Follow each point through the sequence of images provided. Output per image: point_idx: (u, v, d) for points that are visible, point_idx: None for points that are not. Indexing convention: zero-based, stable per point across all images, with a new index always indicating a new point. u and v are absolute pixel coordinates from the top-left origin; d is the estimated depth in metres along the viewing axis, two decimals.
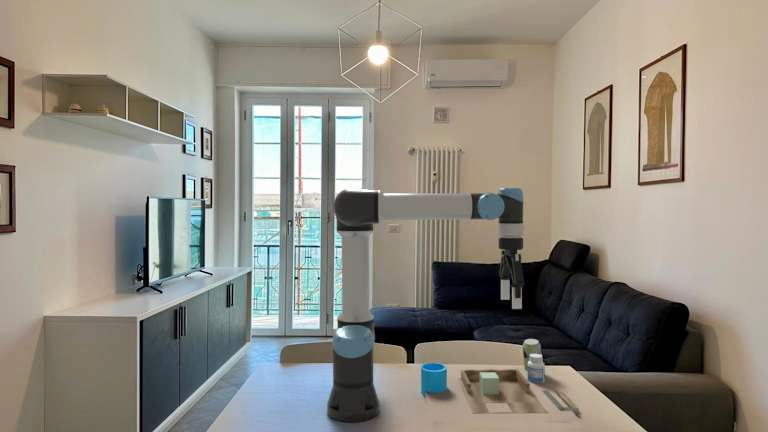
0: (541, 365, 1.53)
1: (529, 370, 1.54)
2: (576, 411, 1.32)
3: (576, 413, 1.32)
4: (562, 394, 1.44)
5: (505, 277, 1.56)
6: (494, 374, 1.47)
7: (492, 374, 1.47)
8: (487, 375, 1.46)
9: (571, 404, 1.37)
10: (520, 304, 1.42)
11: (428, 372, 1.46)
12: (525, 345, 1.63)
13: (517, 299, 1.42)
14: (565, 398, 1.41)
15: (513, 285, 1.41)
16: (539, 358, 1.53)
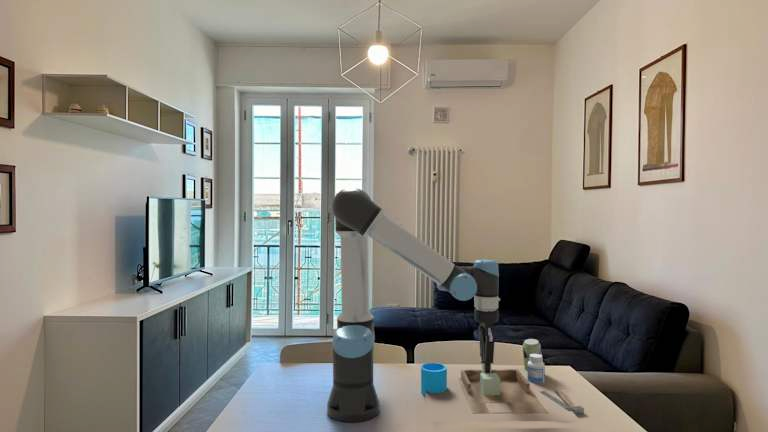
0: (541, 365, 1.53)
1: (529, 370, 1.54)
2: (582, 410, 1.33)
3: (582, 412, 1.33)
4: (561, 393, 1.45)
5: None
6: (495, 375, 1.46)
7: (492, 375, 1.46)
8: (488, 375, 1.45)
9: (569, 403, 1.37)
10: None
11: (428, 372, 1.46)
12: (525, 345, 1.63)
13: None
14: (564, 397, 1.42)
15: (483, 362, 1.48)
16: (539, 358, 1.53)
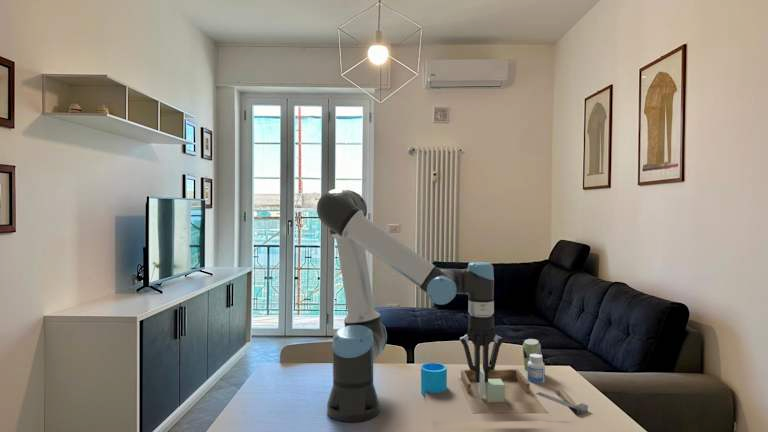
0: (541, 365, 1.53)
1: (529, 370, 1.54)
2: (586, 407, 1.35)
3: (586, 409, 1.35)
4: (563, 392, 1.45)
5: None
6: (499, 381, 1.41)
7: (497, 381, 1.41)
8: (492, 381, 1.41)
9: (571, 402, 1.38)
10: (479, 389, 1.40)
11: (428, 372, 1.46)
12: (525, 345, 1.63)
13: (479, 383, 1.41)
14: (565, 396, 1.42)
15: None
16: (539, 358, 1.53)
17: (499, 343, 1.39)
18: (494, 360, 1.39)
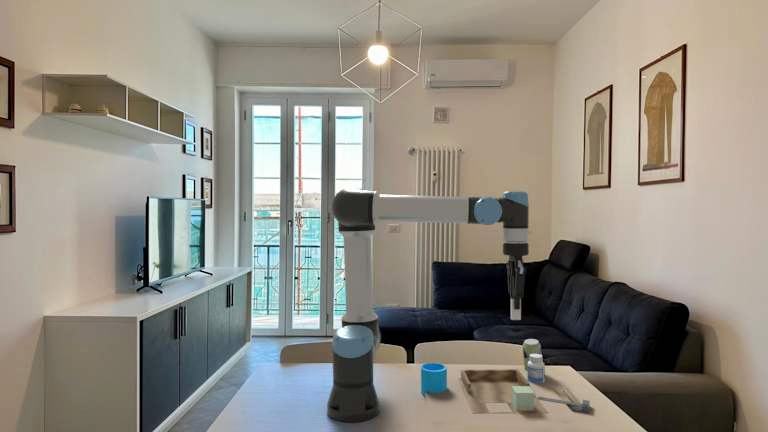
0: (541, 365, 1.53)
1: (529, 370, 1.54)
2: (589, 402, 1.38)
3: (589, 404, 1.38)
4: (567, 391, 1.47)
5: None
6: (528, 388, 1.35)
7: (525, 388, 1.35)
8: (521, 389, 1.35)
9: (575, 400, 1.39)
10: (519, 315, 1.43)
11: (428, 372, 1.46)
12: (525, 345, 1.63)
13: (516, 310, 1.43)
14: (570, 394, 1.44)
15: (512, 298, 1.42)
16: (539, 358, 1.53)
17: None
18: None
